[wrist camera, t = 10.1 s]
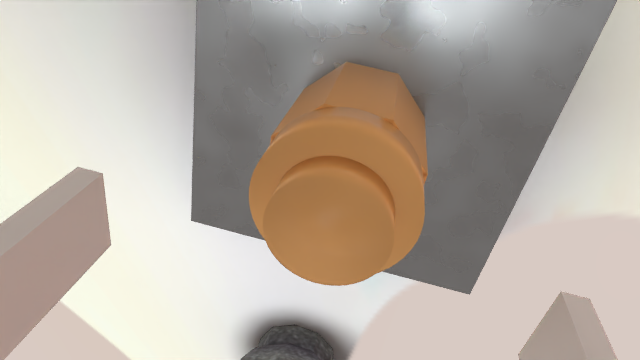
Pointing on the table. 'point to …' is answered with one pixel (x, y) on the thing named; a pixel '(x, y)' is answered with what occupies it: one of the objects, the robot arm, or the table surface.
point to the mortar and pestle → (291, 345)
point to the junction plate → (423, 84)
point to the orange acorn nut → (343, 178)
